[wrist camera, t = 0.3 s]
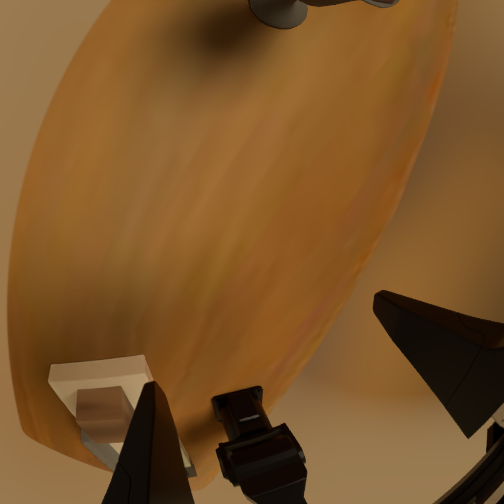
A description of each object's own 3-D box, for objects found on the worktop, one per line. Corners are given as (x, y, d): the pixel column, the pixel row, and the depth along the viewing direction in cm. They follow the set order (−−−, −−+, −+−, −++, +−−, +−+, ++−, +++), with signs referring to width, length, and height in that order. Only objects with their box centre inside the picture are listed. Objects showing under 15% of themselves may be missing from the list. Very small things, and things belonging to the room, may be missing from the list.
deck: (187, 454, 38) (191, 466, 36) (128, 461, 35) (130, 473, 33) (143, 354, 26) (145, 372, 24) (51, 364, 23) (47, 381, 20)
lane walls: (180, 451, 33) (185, 468, 30) (115, 458, 30) (117, 475, 27) (161, 414, 27) (165, 436, 25) (81, 421, 24) (80, 442, 22)
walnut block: (135, 411, 26) (138, 441, 22) (95, 414, 24) (96, 443, 21) (120, 385, 23) (122, 418, 20) (77, 389, 22) (75, 421, 19)
